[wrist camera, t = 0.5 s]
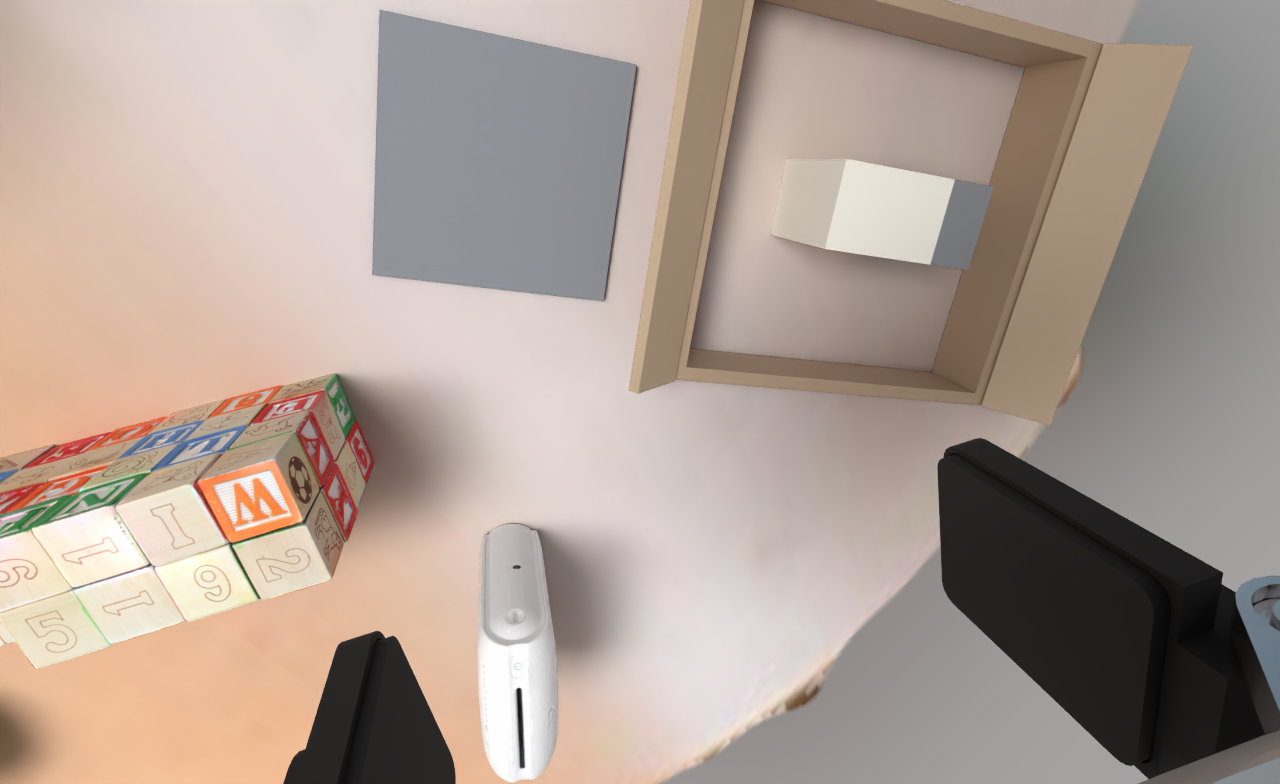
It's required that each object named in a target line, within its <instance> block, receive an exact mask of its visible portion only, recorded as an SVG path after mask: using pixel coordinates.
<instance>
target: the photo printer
mask: <svg viewBox="0 0 1280 784" xmlns="http://www.w3.org/2000/svg"><path fill="white" fill-rule="evenodd" d="M478 689H479V704H480V717H481V726H482V735H483V742H484V748H485V752H486V755H487V758H488V760H489V763H490V765H491V767H492V768H493V770H494V771H495V773H496V774H497V775H498V776H499V777H501V778H502V779H504V780H506V781H509V782H516V781H518V780H521V779H531V780H533V779H534V778H536V777H538V776H539V775H540V774H541V773H542V772H543V771H544V770H545V769H546V767H547V766H548V764H549V762H550V759H551V757H552V754H553V751H554V748H555V746H556V740H557V728H558V671H557V656H556V641H555V638H554V633H553V625H552V618H551V611H550V604H549V597H548V590H547V582H546V575H545V568H544V560H543V553H542V547H541V543H540V539H539V536H538V533H537V531H536V530H530V528H528V527H526V526H524V525H521V524H505V525H501V526H499V527H497V528H495V529H493V530H492V531H491V532H490V533H489V534H485V535H484V537H483V540H482V544H481V550H480V562H479V587H478Z"/></svg>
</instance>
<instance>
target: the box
mask: <svg viewBox="0 0 1280 784" xmlns="http://www.w3.org/2000/svg"><path fill="white" fill-rule="evenodd" d="M993 188H994V187H992V186H986V185H981V184H976V183H971V182H966V181H960V180H955V179H950V178H945V177H939V176H934V175H929V174H924V173H918V172H913V171H908V170H903V169H898V168H892V167H887V166H882V165H877V164H871V163H866V162H861V161H856V160H851V159H787V161H786V165H785V170H784V175H783V179H782V184H781V189H780V194H779V198H778V203H777V208H776V212H775V217H774V222H773V226H772V231H771V235H773V236H777V237H781V238H785V239H789V240H792V241H796V242H800V243H804V244H808V245H811V246H815V247H819V248H823V249H828V250H835V251H841V252H848V253H855V254H862V255H868V256H875V257H882V258H888V259H895V260H902V261H909V262H915V263H922V264H929V265H936V266H942V267H949V268H956V269H962V270H968V269H969V266H970V262H971V259H972V256H973V253H974V250H975V246H976V243H977V240H978V237H979V233H980V230H981V227H982V224H983V220H984V217H985V214H986V211H987V208H988V204H989V201H990V198H991V195H992V191H993Z"/></svg>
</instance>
